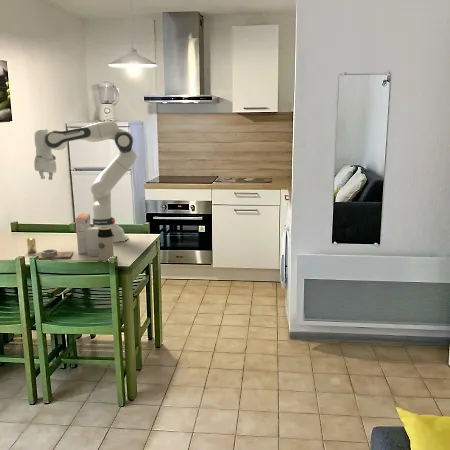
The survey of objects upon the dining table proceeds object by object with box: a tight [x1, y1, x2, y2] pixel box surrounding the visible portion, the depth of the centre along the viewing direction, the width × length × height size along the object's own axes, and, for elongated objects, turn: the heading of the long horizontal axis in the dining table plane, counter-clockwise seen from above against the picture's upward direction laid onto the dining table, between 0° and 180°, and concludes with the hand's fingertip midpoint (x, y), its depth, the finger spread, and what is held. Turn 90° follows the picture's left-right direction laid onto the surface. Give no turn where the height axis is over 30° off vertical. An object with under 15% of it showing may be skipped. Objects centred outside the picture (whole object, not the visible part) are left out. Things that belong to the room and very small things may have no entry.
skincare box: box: [86, 226, 99, 257], centre depth 291 cm, size 8×7×16 cm
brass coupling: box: [26, 237, 37, 254], centre depth 297 cm, size 4×4×8 cm
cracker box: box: [75, 213, 92, 255], centre depth 299 cm, size 14×6×21 cm, turn 4°
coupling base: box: [34, 249, 74, 260], centre depth 288 cm, size 20×11×3 cm, turn 98°
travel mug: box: [98, 226, 115, 261], centre depth 281 cm, size 8×8×18 cm
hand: (46, 179), depth 310 cm, fingers open, 8 cm apart
